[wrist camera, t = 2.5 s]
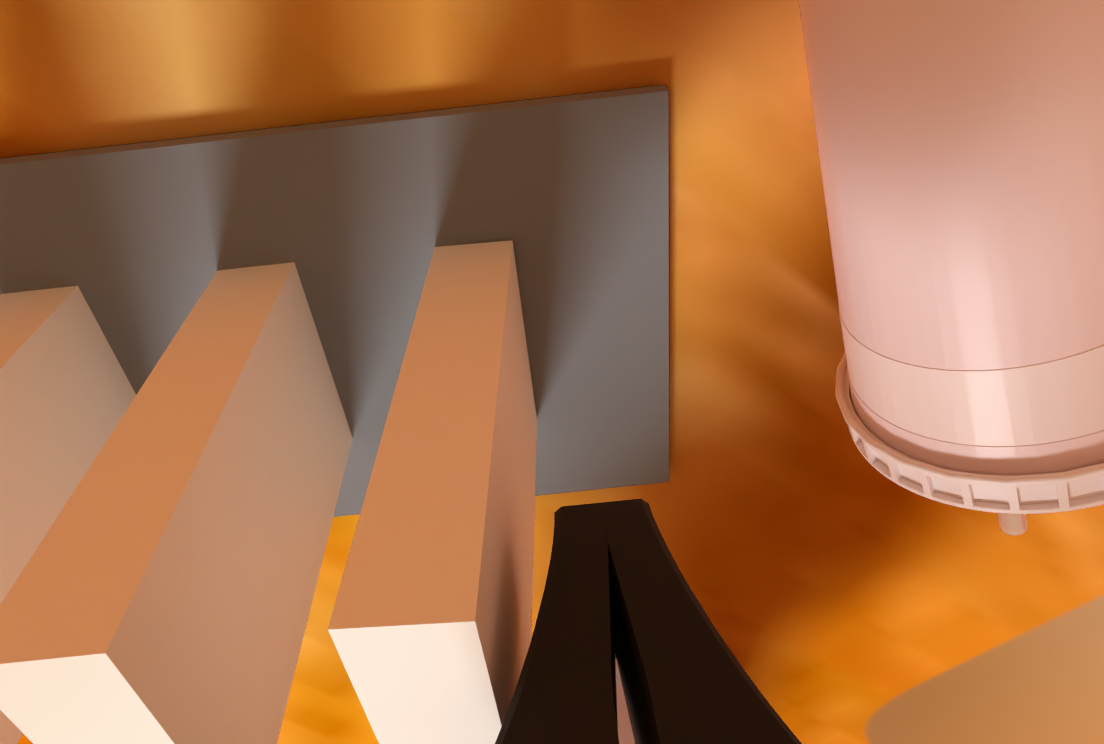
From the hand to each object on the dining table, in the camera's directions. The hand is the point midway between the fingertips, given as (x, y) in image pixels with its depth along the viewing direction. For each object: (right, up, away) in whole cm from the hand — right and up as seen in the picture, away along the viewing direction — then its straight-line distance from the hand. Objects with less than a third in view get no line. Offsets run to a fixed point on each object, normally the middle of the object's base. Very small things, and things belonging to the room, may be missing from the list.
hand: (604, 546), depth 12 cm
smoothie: (+4, +10, -2) cm, 11 cm away
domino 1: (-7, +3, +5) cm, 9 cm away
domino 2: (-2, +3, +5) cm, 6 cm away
